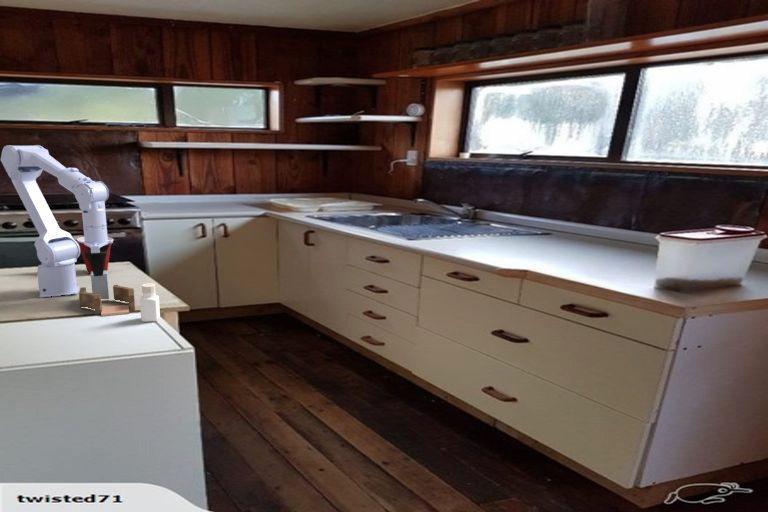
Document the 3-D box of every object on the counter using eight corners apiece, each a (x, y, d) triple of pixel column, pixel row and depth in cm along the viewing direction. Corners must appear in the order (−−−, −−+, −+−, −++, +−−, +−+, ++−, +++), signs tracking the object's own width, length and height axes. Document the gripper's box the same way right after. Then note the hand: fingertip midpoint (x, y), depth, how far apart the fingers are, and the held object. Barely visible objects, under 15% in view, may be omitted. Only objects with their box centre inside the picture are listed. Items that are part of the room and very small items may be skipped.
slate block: (93, 302, 146) (90, 275, 144) (94, 297, 149) (91, 271, 148) (109, 300, 148) (106, 273, 146) (109, 296, 151) (107, 270, 149)
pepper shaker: (157, 322, 133) (155, 287, 131) (140, 322, 132) (138, 287, 130) (160, 316, 137) (158, 282, 135) (144, 317, 136) (142, 282, 134)
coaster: (101, 316, 135) (101, 314, 135) (102, 309, 140) (102, 307, 140) (129, 313, 138) (128, 311, 138) (129, 306, 143) (129, 304, 143)
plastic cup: (109, 277, 170) (106, 241, 167) (74, 277, 169) (70, 241, 166) (121, 268, 181) (118, 235, 178) (88, 268, 179) (84, 234, 176)
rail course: (78, 316, 135) (76, 300, 134) (82, 302, 145) (80, 287, 144) (134, 310, 140) (133, 295, 139) (134, 298, 150) (133, 283, 149)
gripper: (110, 229, 139) (114, 277, 142) (112, 220, 152) (115, 265, 155) (80, 230, 136) (84, 279, 139) (84, 221, 149) (89, 266, 152)
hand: (99, 272), depth 147 cm, fingers open, 7 cm apart
